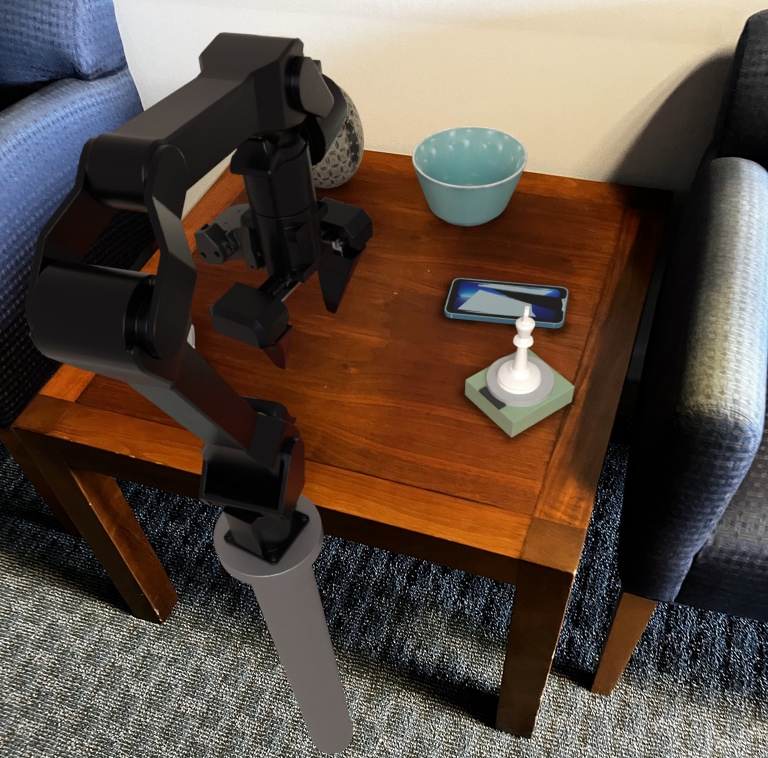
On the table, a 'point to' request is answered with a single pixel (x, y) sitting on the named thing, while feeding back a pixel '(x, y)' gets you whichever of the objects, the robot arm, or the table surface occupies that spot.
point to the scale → (518, 396)
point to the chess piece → (520, 361)
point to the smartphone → (506, 302)
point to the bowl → (469, 172)
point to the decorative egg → (342, 152)
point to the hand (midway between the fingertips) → (307, 338)
